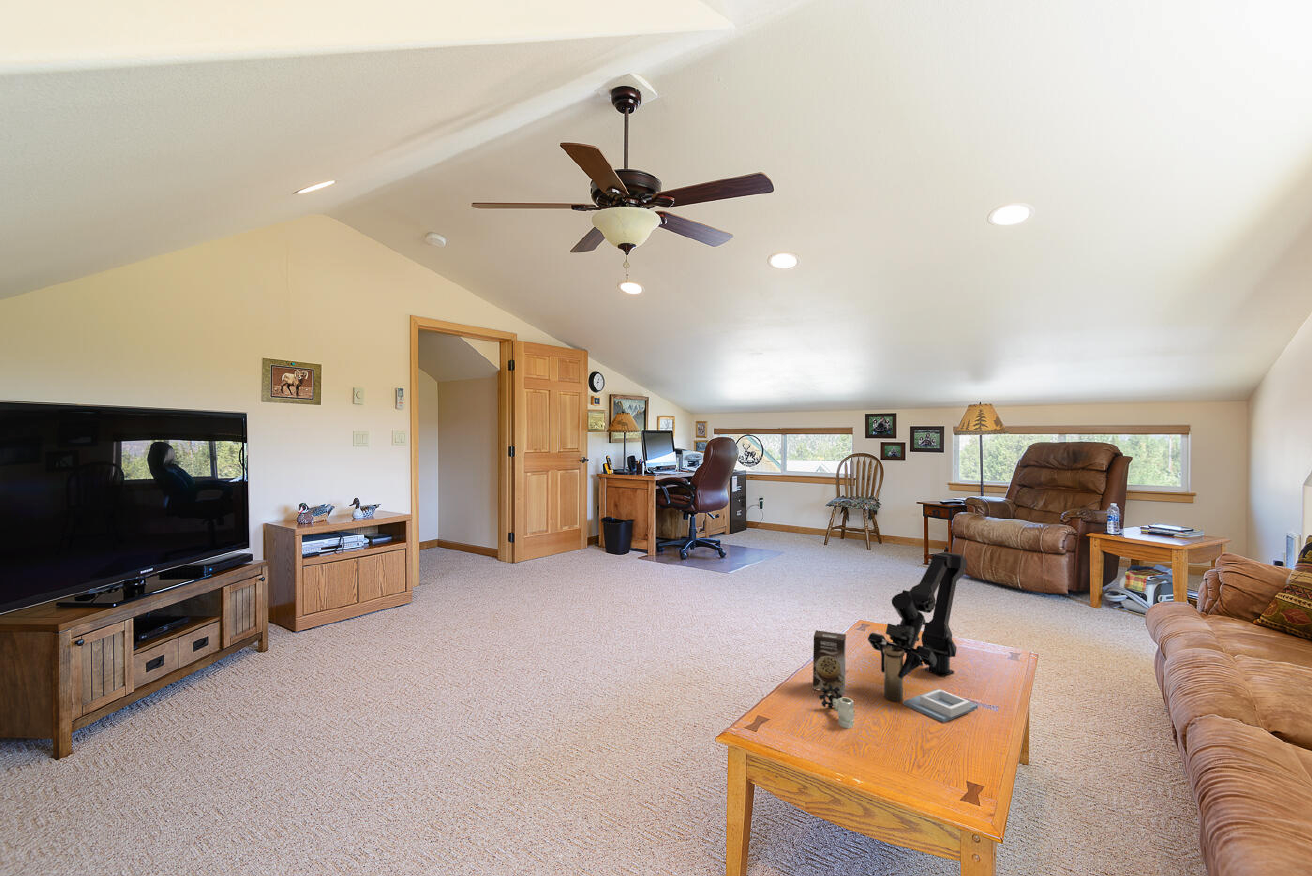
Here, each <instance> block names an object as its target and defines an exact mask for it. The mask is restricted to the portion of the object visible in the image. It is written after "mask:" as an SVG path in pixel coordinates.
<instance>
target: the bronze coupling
mask: <svg viewBox="0 0 1312 876" xmlns="http://www.w3.org/2000/svg"><path fill="white" fill-rule="evenodd" d="M883 653H884V673H883V697H884V699H886V700H888V701H890V702H897V703H898V702H901V701H902V702H903V701H904V700H903V698H904V697H903V696H904V694H903V693H904V687H903V686H904V677H903V678H902V679H901V678H900V677H899V675H900V671H901V669H902V667H903V665H904V656H905V654H906V653H905V651H904V649H902V648H900V647H897V646H884V647H883Z"/></svg>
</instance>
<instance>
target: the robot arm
mask: <svg viewBox="0 0 1312 876" xmlns="http://www.w3.org/2000/svg"><path fill="white" fill-rule="evenodd" d="M967 567H968V559H967V558H965V555H963V554H962V553H961V554H959V553H953V552H947V551H946V552H945V551H943V552H941V553H934V554H932V556H931V560H930V563H929V565H928V567H927V569H926V570H925V572H924V574H923V576H922V578H921V580H920V582H919V583H918V584H916V585H914V586H912V587H911V588H910V590H905V589H903V590H902V592H898V593H897V594H895V595H894V596H893V597H892V599H891V605H892V607H893V608H894V609H895V611H896V613H897V615H898V616H899V618H900V619H901V620H900V623H897V624H892V623H887V625H886V631H885V635H889V639H890V640H891V641H889V640H887V639H886V638H885V636H884V634H879V633H875V632H871V633H869V634H868V637H867V642H869V644H870V645H871V647H872V648H873V649H874V650H876V651H879V652H880V655H881V657H880V658H881V660H880V661H881V664H880V666H881V667H880V671H881V672H882V673H883V674H884V653H883V647H884V646H897V647H900V648H902V649H904V651H905V654H906V657H905V660H904V661H903V667H902V669H901V671H900V675H899V677H900V678H901V679H902V678H903V679H904V678H905V676H907V675H908V674H909V673H911V672H912V671H914V670H915V669H916V668H918V667H923V666H927V667H925V668H924V670H925V671H927V672H929V673H932V674H935V675H938V676H941V677H946V676H949V675H952V674H955V670H952V669H951V668H950V667H951V661H950V660H951V658H956V656H957V646H956V644H955V642H954V641H953V633H952V630H951V628H950V618H951V613H952V608H953V603H954V597H955V593H956V592H955V591H956V586H957V582H958V581H959V580H960V579H961V578H963V576H964V574H965V570H967ZM937 589H938V590H937ZM936 592H937V594H936V597H935V593H936ZM932 611H933V615H932V619H931V620H930V621H929V622H927V621H926V618H925V615H923V613H925V614H928V613H929V614H930V613H932ZM923 626H924V627H923ZM922 627H923V628H922ZM922 629H923V632H921V631H922ZM920 633H922V634H921V645H917V646H916V648H914V647H915V645H916V643H917V642H920V637H919V635H920Z"/></svg>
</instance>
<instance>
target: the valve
mask: <svg viewBox="0 0 1312 876" xmlns="http://www.w3.org/2000/svg"><path fill="white" fill-rule="evenodd" d="M832 688H833V686H832V685H831V684H829V685H828V689H825V688H822V689H821V690H822V691H821V692H822V694H819V695H818V698H819V700H821V706H822V707H824V708H826V707H827V708H828V709H829V710H833V709H834V710H835V711H836V712H837V716H838V718H837V719H838V722H837V723H838V725H839V726H840V727H841V728H843V729H844V728H845V729H851V728H854V725H855V724H854V722H855V721H854V719H855V710H854V708H855V707H854V706H855V705H854V704H855V703H854V700H853V699H851V698H849V697H846V696H845V697H844V695H843V694H838V693H837V692H838V691H840V689H839V688H838V687H835V689H832ZM829 691H833V692H835V693H831V692H829ZM834 694H835V695H834ZM826 698H827V699H828V701H827V700H826Z"/></svg>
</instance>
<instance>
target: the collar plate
mask: <svg viewBox="0 0 1312 876" xmlns="http://www.w3.org/2000/svg"><path fill="white" fill-rule="evenodd" d="M902 702H903V703H902V704H903V706H905V707H907V708H910V709H912V710H915V711H916V712H919V713H921V714H923V715H926V716H928V717H930V718H932V719H934V720H936V721H938V722H941V723H943V724H944V723H947V722H949V721H951V720H954V719H957V718H958V717H961V716H964V715H966V714H968V713H971V712H973V711H976V710H978V709H979V705H978V704H976V703H975V702H971V701H970V700H967V699H965V698H962V697H960V696H958V695H955V694H954V693H953V694H952V693H950V692H947V691H945V690H942V689H940V688H936V689H933V690H931V691H927V692H925V693H923V694H919V695H916V696H914V697H910V698H907V699H905V700H902ZM977 708H978V709H977ZM975 709H976V710H975Z"/></svg>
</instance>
